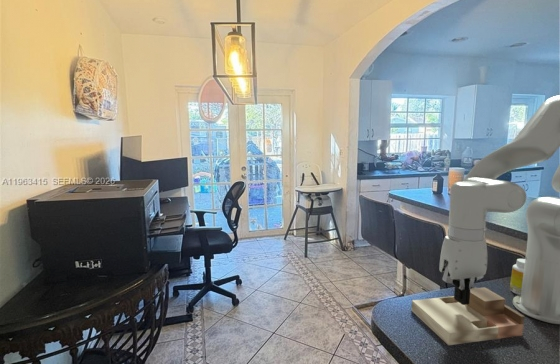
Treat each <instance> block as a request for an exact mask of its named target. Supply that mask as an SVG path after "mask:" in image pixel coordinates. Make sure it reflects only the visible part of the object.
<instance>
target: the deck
mask: <svg viewBox="0 0 560 364" xmlns="http://www.w3.org/2000/svg"><path fill="white" fill-rule="evenodd" d="M473 288H478V287H477V286H473ZM411 311H412V313H414V315H416V316H417V317H418V318H419V319H420V320H421V322H423V323H424V324H425V325H426V326H427V327H428V328H429V329H430V330H431V331H433V332H434V333H435V334H436V335H437V337H439V338H440V339H441V340H442V341H443V342H444V343H446V344H447V346H454V345H462V344H468V343H469V344H470V343H477V342H483V341H491V340H492V341H493V340H499V339H506V338H513V337H520V336H523V334H524V333H523V331H524V325H525V314H523V313H520V311H517V310H515V309H514V308H512V307H510V306H509V305H507V304H505V306H504V314H498V315H490V316H482V315H480V314H479V313H478V312H476V311H475V310H473V309H472V308H470V307H469V306H467V305H466V304H465V305H462V304H461V303H459V302H458V301H457V300H455V299H454V295H452V296H442V297H433V298H431V297H430V298H423V299H422V298H421V299H413V300H411Z"/></svg>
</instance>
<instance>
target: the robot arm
mask: <svg viewBox="0 0 560 364" xmlns="http://www.w3.org/2000/svg"><path fill="white" fill-rule="evenodd" d="M558 149H560V94H559V95H555V96H552V97H550V98H547V99H546V100H545V101H543V102H542V103H541V105H540V106H539V107H538V109H536V111H535V112H534V114H532V116H531V117H530V119H529V120H528V121H527V122H526V123H525V125H524V126H523V127H522V128H521V130H520V131H519V132H518V134H517V135H516V137H515V138H514V139H513V140H511V141H510V142H508V143H507V144H504V145H502V146H500V147H499V148H497V149H496V150H494V151H492V152H490V153H489V154H487V155H486V156H484V157H482V158H481V159H479V160H478V162H476V164H474V166H472V168H471V170H469V172H468V173H467V174H466V176H465V177H464V179H463V181H456V182H453V184H451V187H450V191H449V192H450V194H449V213H448V231H447V232H448V235H446V236H444V238H443V242H442V245H441V249H440V250H441V252H440V257H439V258H440V259H439V272H440V273H442V274H443V276H442V281H443V282H445V283H447V284H451V285H453V286H454V295H453V296H454V299H455V300H457V301H458V302H459V303H461V304H462V305H465V304H469V301H470V289H473V288H474V284H475V283H476V282H477V281H479V280H481V279H483V278H484V276H485V275H486V274H487V269H488V247H487V245H488V244H487V241H486V240H487V239H486V238H485V235H486V234H485V233H486V231H487V230H488V229H487V226H486V223H487V221H486V219H487V213H500V214H508V213H514V212H516V211H519V209H521V208H522V207H523V206H524V205H525V204H526V202H527V193H526V191H525V189H524V188H523V187H522V186H521V185H520V184H518V183H516V182H513V181H508V180H503V179H502V180H501V179H497V178H499V177H500V176H502V175H503V174H505V173H508V172H510V171H513V170H517V169H520V168H524V167H527V166H528V167H529V166H532V165H536V164H539V163H542V162H545V161H548V160H549V159H551V158H552V157H553V156H554V154H555V153H556V152H557V151H558ZM551 187H552V189H553V190H554V191H555V192H557V193H559V194H560V164H559V165H558V167H557V169H556V170H555V172H554V174H553V176H552V179H551ZM525 219H526V226H527V241H526V242H527V243H526V251H525V257H524V259H525V266H524V273H523V281H522V289H521V295H515V296H514V297H513V298H512V304H513V306H514V307H515V308H516V310H518V312H521V314H523V315H526V316H528V317H531V318H533V319H535V320H538V321H542V322H545V323H548V324H554V325H560V197H557V196H542V197H537V198H535V199H533V200H531V202H529V204H528V206H526V211H525Z"/></svg>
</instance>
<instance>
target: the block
mask: <svg viewBox="0 0 560 364" xmlns="http://www.w3.org/2000/svg"><path fill="white" fill-rule="evenodd" d="M466 305H467V306H469V307H470V308H472V309H473V310H475V311H476V312H478V313H479V314H480V315H482V316H490V315H498V314H504V306H505V305H506V298H504V296H503V297H502V296H501V295H499V294H497V293H496V292H494V291H492V290H491V289H489V288H487V287H477V288H474V287H473V288H472V289H470V301H469V304H466Z"/></svg>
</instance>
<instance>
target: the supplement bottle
mask: <svg viewBox="0 0 560 364" xmlns="http://www.w3.org/2000/svg"><path fill="white" fill-rule="evenodd" d="M524 266H525V258H517V259H516V263H515V264H513V265H512V268H511V269H512V270H511V277H510V285H509V290H510V291H511V292H512V293H513V294H516V295H517V296H519V295H521V289H522V281H523V273H524Z"/></svg>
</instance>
